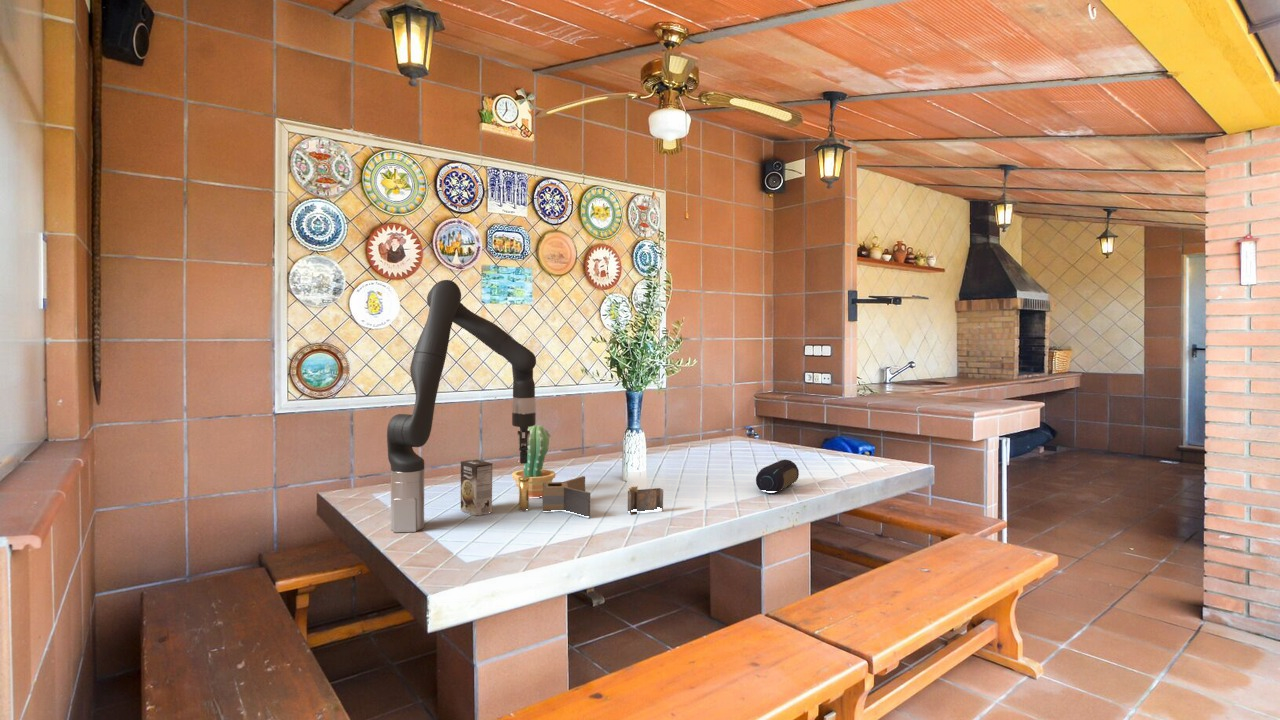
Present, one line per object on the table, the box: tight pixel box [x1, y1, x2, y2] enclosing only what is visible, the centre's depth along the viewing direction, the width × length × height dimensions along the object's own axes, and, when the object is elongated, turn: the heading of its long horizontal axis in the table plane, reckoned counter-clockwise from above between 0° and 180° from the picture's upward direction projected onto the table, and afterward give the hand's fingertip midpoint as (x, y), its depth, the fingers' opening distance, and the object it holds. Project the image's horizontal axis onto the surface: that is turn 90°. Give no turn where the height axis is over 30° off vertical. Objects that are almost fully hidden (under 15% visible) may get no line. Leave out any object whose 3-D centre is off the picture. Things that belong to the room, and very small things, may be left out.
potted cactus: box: [511, 424, 557, 497], centre depth 233 cm, size 15×15×25 cm
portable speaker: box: [755, 459, 800, 492], centre depth 249 cm, size 25×10×10 cm, turn 148°
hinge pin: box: [518, 476, 530, 510], centre depth 214 cm, size 4×4×11 cm
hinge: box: [541, 475, 591, 517], centre depth 216 cm, size 25×15×8 cm, turn 9°
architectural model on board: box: [627, 485, 664, 512], centre depth 213 cm, size 11×3×10 cm, turn 111°
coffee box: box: [460, 459, 494, 516], centre depth 211 cm, size 9×6×16 cm
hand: (523, 460), depth 214 cm, fingers open, 8 cm apart
